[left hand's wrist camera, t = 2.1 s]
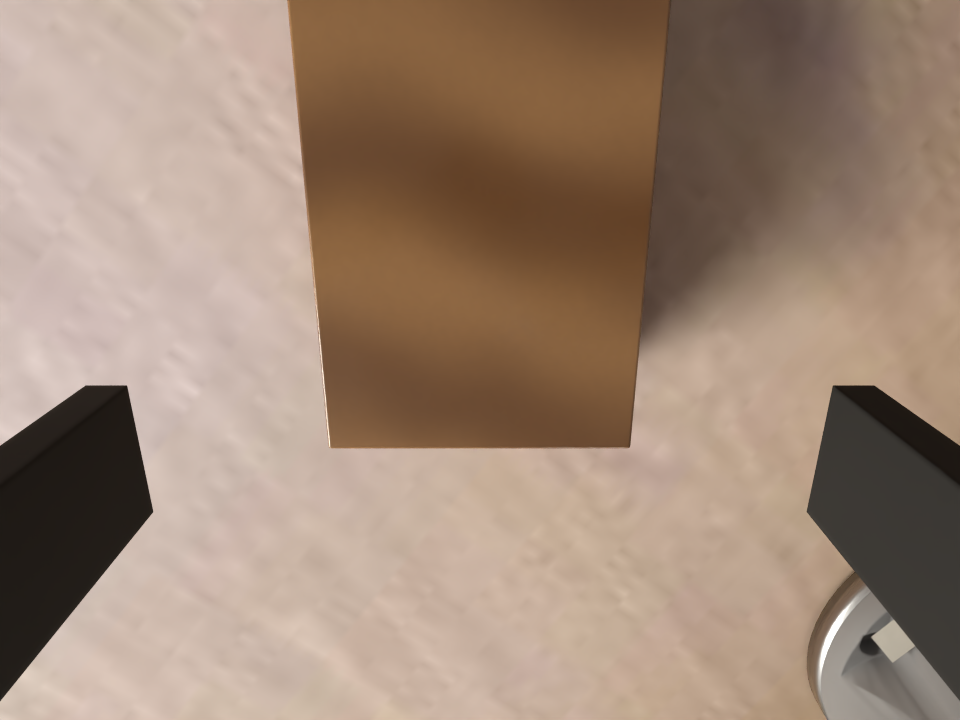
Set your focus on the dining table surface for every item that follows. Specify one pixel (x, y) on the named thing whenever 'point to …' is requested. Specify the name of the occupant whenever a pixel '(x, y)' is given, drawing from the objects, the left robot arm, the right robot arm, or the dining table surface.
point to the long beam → (479, 214)
